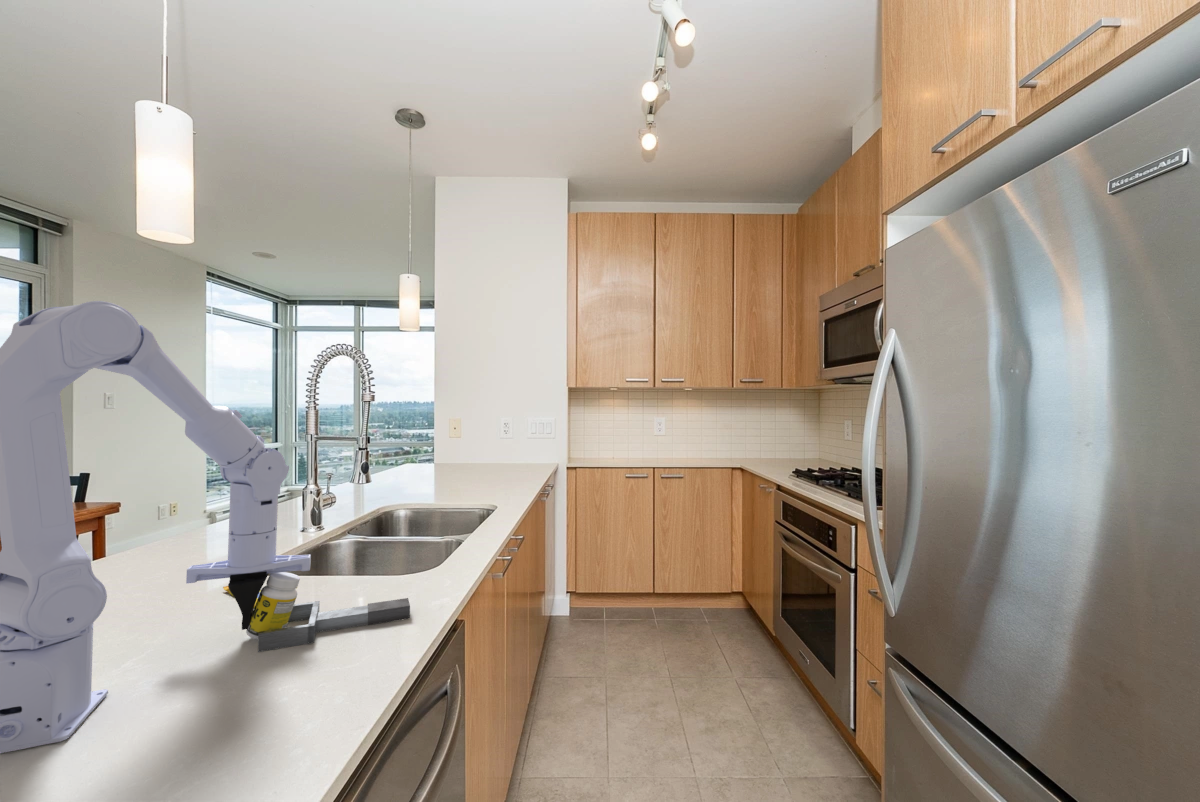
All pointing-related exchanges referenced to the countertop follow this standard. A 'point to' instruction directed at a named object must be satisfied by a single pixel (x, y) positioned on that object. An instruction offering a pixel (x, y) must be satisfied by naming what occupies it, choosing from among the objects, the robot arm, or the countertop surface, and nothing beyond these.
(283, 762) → the countertop surface
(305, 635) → the open-end wrench
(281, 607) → the supplement bottle
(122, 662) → the countertop surface
